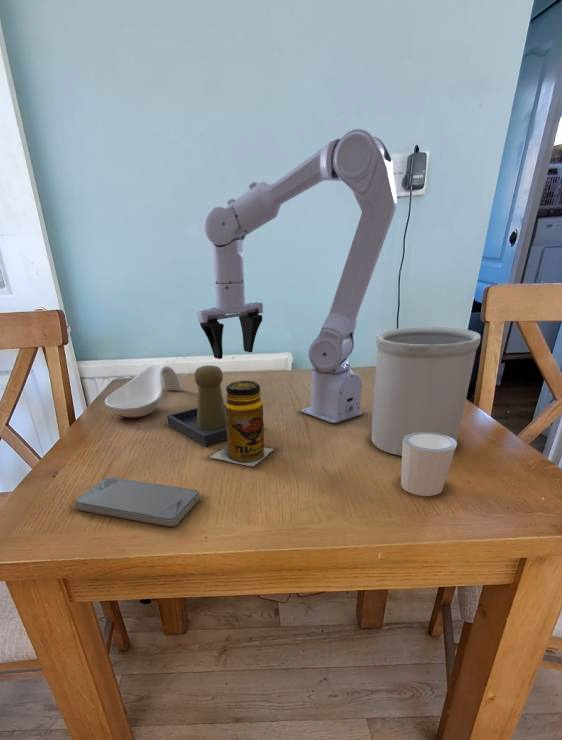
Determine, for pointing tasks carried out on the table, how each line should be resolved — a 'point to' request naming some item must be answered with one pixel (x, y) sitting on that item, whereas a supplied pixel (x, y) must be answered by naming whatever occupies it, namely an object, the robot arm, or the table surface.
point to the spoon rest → (142, 392)
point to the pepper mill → (210, 398)
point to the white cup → (426, 462)
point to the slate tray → (195, 428)
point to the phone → (139, 501)
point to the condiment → (244, 425)
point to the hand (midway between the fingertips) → (233, 354)
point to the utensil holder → (421, 383)
